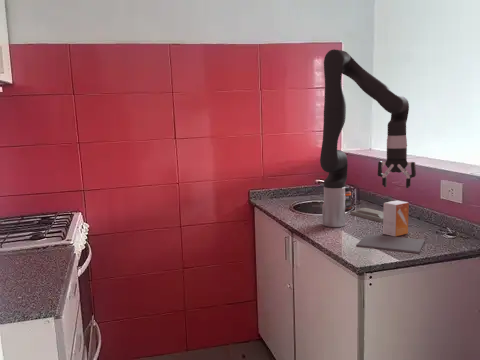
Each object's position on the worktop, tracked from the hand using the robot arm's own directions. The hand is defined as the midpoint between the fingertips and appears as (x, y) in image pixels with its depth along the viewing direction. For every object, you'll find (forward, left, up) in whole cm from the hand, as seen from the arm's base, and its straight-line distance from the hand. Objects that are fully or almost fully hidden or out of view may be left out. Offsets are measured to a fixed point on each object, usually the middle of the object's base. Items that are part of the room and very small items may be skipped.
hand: (396, 187), depth 180 cm
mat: (+1, -15, -19) cm, 24 cm away
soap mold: (-15, +27, -20) cm, 37 cm away
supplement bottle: (-32, +40, -19) cm, 55 cm away
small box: (0, 0, -19) cm, 19 cm away
